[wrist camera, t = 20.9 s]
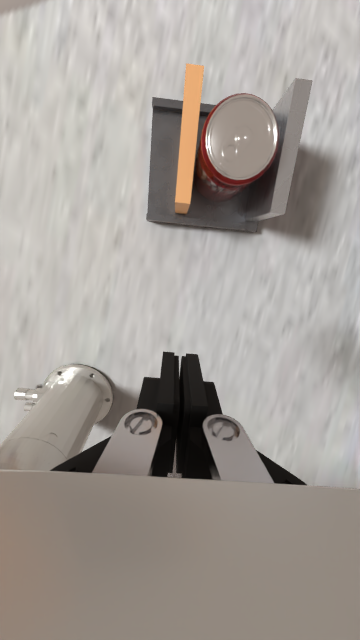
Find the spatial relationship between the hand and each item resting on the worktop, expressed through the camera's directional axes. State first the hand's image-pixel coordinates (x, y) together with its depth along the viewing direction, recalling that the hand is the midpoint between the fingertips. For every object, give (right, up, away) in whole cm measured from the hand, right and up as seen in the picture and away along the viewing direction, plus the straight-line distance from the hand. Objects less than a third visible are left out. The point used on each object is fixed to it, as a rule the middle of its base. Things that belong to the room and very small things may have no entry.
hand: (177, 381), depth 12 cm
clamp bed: (+4, +24, +23) cm, 33 cm away
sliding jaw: (+1, +23, +21) cm, 32 cm away
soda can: (+6, +23, +22) cm, 32 cm away
